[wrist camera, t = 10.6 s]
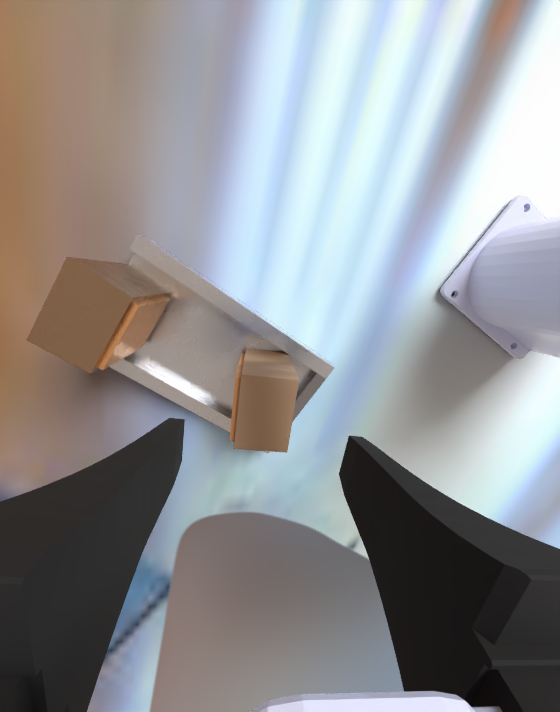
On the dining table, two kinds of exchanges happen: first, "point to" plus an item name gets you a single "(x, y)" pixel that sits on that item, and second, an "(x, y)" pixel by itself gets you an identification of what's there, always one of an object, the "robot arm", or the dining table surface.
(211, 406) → the rail
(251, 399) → the tan cardboard box
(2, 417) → the dining table surface
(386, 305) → the dining table surface
